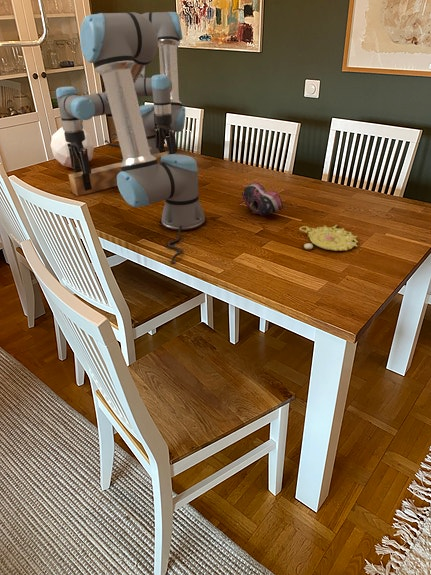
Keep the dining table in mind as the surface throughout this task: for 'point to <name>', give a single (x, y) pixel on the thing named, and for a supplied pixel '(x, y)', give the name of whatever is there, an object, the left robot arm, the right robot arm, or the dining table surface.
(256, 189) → the athletic shoe
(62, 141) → the sphere
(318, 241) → the decorative object
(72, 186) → the bar
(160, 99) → the left robot arm
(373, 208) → the dining table surface
